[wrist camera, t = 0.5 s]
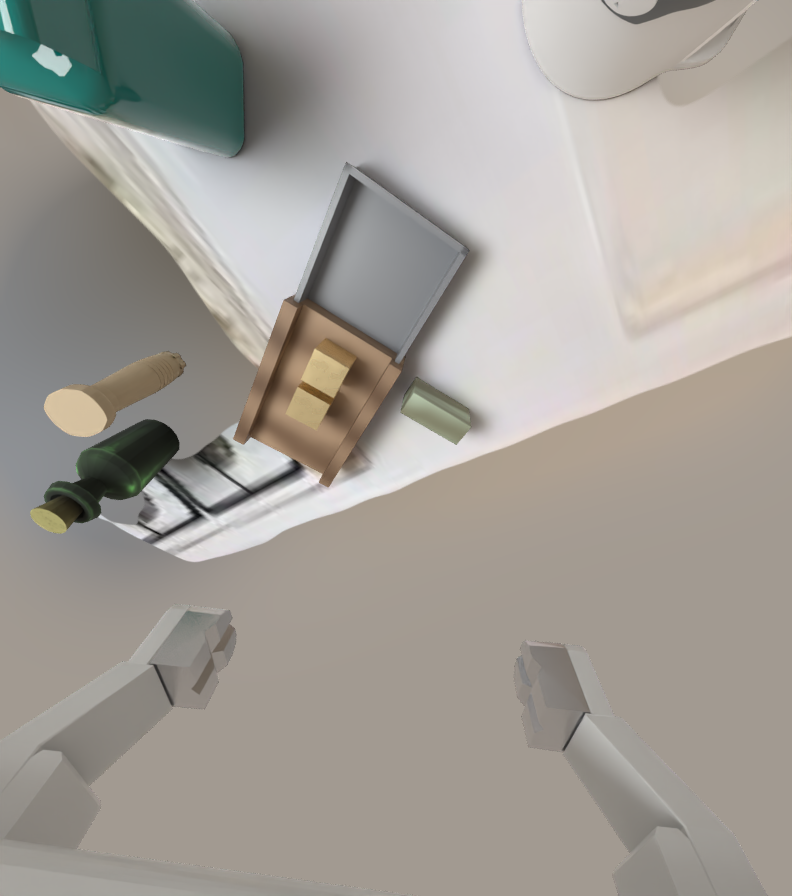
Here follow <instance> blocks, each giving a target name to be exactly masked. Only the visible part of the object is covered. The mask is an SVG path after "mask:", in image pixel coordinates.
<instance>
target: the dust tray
mask: <svg viewBox="0 0 792 896" xmlns="http://www.w3.org/2000/svg"><path fill="white" fill-rule="evenodd" d="M468 252H469V249H468V248H466V247H465V246H463V245H462V244H461V243H459V242H458V241H457V240H455V239H454V238H452V237H451V236H450V235H448V234H447V233H445V232H444V231H443V230H441V229H440V228H438V227H437V226H436V225H434V224H433V223H431V222H430V221H429V220H427V219H426V218H424V217H423V216H422V215H420V214H419V213H418V212H416V211H415V210H413V209H412V208H411V207H409V206H408V205H406V204H405V203H404V202H402V201H401V200H399V199H398V198H397V197H395V196H394V195H392V194H391V193H390V192H388V191H387V190H385V189H384V188H383V187H381V186H380V185H379V184H377V183H376V182H374V181H373V180H372V179H370V178H369V177H367V176H366V175H365V174H363V173H362V172H360V171H359V170H358V169H356V168H355V167H353V166H352V165H350V164H349V163H347V162H346V163H345V166H344V169H343V171H342V174H341V177H340V179H339V182H338V184H337V187H336V190H335V192H334V195H333V198H332V200H331V203H330V205H329V208H328V211H327V213H326V216H325V219H324V221H323V224H322V227H321V229H320V232H319V234H318V237H317V240H316V242H315V245H314V248H313V250H312V253H311V255H310V258H309V261H308V263H307V266H306V269H305V271H304V274H303V276H302V279H301V282H300V284H299V287H298V290H297V292H296V295H295V298H294V301H296V302H298V303H300V302H302V301H304V300H305V299H307V298H308V299H310V300H311V301H313V302H314V303H316V304H318V305H319V306H321V307H323V308H324V309H326V310H327V311H329V312H331V313H332V314H334V315H336V316H337V317H339V318H340V319H342V320H344V321H345V322H347V323H349V324H350V325H352V326H353V327H355V328H357V329H358V330H360V331H362V332H363V333H365V334H366V335H368V336H370V337H371V338H373V339H375V340H376V341H378V342H379V343H381V344H383V345H384V346H386V347H388V348H389V349H391V350H392V351H394V352H396V353H397V356H396V359H395V362H396V363H398V364H400V362H401V360H402V359H403V357H404V356H405V354H406V352H407V351H408V349H409V347H410V346H411V344H412V343H413V341H414V339H415V338H416V336H417V335H418V333H419V331H420V330H421V328H422V326H423V325H424V323H425V322H426V320H427V318H428V317H429V315H430V313H431V312H432V310H433V309H434V307H435V305H436V304H437V302H438V300H439V299H440V297H441V296H442V294H443V292H444V291H445V289H446V288H447V286H448V284H449V283H450V281H451V279H452V278H453V276H454V275H455V273H456V271H457V270H458V268H459V266H460V265H461V263H462V262H463V260H464V258H465V257H466V255H467V254H468Z"/></svg>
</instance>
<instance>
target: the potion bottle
mask: <svg viewBox="0 0 792 896" xmlns="http://www.w3.org/2000/svg"><path fill="white" fill-rule="evenodd" d="M178 450H179V440H178V438H177V435H176V434H175V433H174V431H173V430H172V429H171V428H170V427H168V426H167V425H166V424H164V423H162V422H159V421H156V420H148V419H147V420H143V421H141V422H139V423H137V424H135V425H133V426H131V427H129V428H127V429H125V430H123V431H121V432H119V433H117V434H116V435H114V436H112V437H110V438H108V439H106V440H104V441H102V442H100V443H98V444H96V445H94V446H92V447H90V448H88V449H86V450H84V451H83V452H82V453H81V455H80V457H79V458H78V460H77V463H76V470H77V473H78V475H79V476H80V478H81V480H80V481H77V482H74V483H70V482H63V481H57V482H55V483H52V484H51V486H50V487H49V489H48V490H47V491H46V493H45V495H44V498H45V502H46V503H45V504H43V505H41V506H39V507H37V508H34V509H32V510H31V512H30V514H31V518H32V519H33V520H34V521H35V522H36V523H37V524H38V525H39V526H41V527H42V528H44V529H46V530H48V531H50V532H53V533H64V532H66V530H67V529H68V528H69V527H70V525H71V524H72V523H73V522H77V523H84V522H88V521H90V520H92V519H94V518H97V517H98V516H99V515H100V514H101V506H100V505H99V501H100V500H101V499H102V497H103V496H104V497H107V498H110V499H116V500H123V499H127V498H131V497H134V496H137V495H138V494H139V493H140V492H141V491H142V490H143V488H144V487H145V486H146V485H147V484H148V483H149V482H150V481H151V480H152V479H153V478H154V477H155V476H156V474H157V473H158V472H159V471H160V470H161V469H162V468H163V467H164V466H165V465H166V464H167V463H168V461H169V460H170V459H171V458H172V457H173V456H174V455H175V454H176V453H177V451H178Z"/></svg>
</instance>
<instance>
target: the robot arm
mask: <svg viewBox="0 0 792 896" xmlns="http://www.w3.org/2000/svg"><path fill="white" fill-rule="evenodd" d="M757 1H758V0H522V13H523V22H524V27H525V32H526V36H527V40H528V43H529V47H530V49H531V52H532V54H533V57H534V59H535V61H536V63H537V64H538V66H539V68H540V69H541V71H542V72H543V74H544V75H545V76H546V77H547V78H548V80H549V81H550V82H551V83H552V84H553V85H555V86H556V87H557V88H559V89H560V90H562V91H563V92H565V93H567V94H569V95H572V96H574V97H578V98H582V99H590V100H598V99H607V98H612V97H616V96H619V95H622V94H625V93H627V92H629V91H632V90H633V89H635V88H637V87H639V86H641V85H643V84H644V83H646V82H648V81H649V80H651V79H653V78H654V77H656V76H658V75H660V74H662V73H664V72H667V71H671V70H682V69H690V68H695V67H698V66H701V65H703V64H705V63H707V62H709V61H710V60H711V59H712V58H714V57H715V56H716V55H717V54H719V53H720V52H721V50H722V49H723V48H724V47H725V45H726V44H727V42H728V41H729V39H730V38H731V36H732V34H733V32H734V31H735V29H736V27H737V26H738V24H739V23H740V21H741V19H742V17H743V16H744V14H745V13H746V11H747V9H748V8H750V7H751V6H752V5H753V4H754V3H756V2H757ZM231 620H232V615H231V612H230V610H222V609H214V608H205V607H196V606H190V605H189V606H188V605H179V604H175V605H173V606H172V607H171V608H169V609H168V610H167V612H166V613H165V614H164V615H163V617H162V618H161V619H160V621H159V622H158V624H157V625H156V626H155V627H154V628H153V630H152V631H151V632H150V634H149V635H148V636H147V637H146V639H145V640H144V641H143V643H142V644H141V645H140V647H139V648H138V649H137V650H136V652H135V653H134V654H133V656H132V657H131V658H130V660H129V661H128V662H123V661H122V662H121V663H119V664H118V665H116V666H114V667H113V668H111V669H110V670H109V671H107V672H105V673H104V674H102V675H101V676H99V677H97V678H96V679H94V680H93V681H92V682H90V683H88V684H87V685H85V686H84V687H82V688H80V689H79V690H77V691H76V692H74V693H73V694H71V695H70V696H68V697H67V698H65V699H64V700H62V701H60V702H59V703H57V704H56V705H54V706H53V707H51V708H50V709H48V710H47V711H45V712H43V713H42V714H40V715H39V716H37V717H36V718H34V719H33V720H31V721H30V722H28V723H26V724H25V725H23V726H22V727H20V728H19V729H17V730H16V731H14V732H13V733H11V734H9V735H8V736H7V737H5V738H3V739H2V740H0V896H416V895H408V894H401V893H394V892H387V891H379V890H372V889H365V888H358V887H350V886H343V885H336V884H328V883H321V882H313V881H307V880H299V879H292V878H284V877H277V876H270V875H263V874H256V873H248V872H241V871H234V870H227V869H219V868H212V867H205V866H197V865H190V864H182V863H176V862H168V861H161V860H154V859H146V858H139V857H131V856H124V855H117V854H110V853H102V852H96V851H88V850H81V849H77V847H78V846H79V844H80V843H81V841H82V839H83V837H84V836H85V834H86V832H87V831H88V829H89V827H90V826H91V824H92V822H93V821H94V819H95V817H96V815H97V814H98V812H99V811H100V809H101V802H100V799H99V798H98V797H97V795H96V794H95V793H94V792H93V791H92V789H91V788H90V787H89V786H90V785H91V784H92V783H93V782H94V781H95V780H96V779H97V778H98V777H100V776H101V775H102V774H103V773H104V772H105V771H106V770H107V769H108V768H109V767H111V765H113V764H114V763H115V762H116V761H117V760H118V759H119V758H120V757H121V756H122V755H123V754H125V753H126V752H127V751H128V750H129V749H130V748H131V747H132V746H133V745H134V744H135V743H136V742H138V741H139V740H140V739H141V738H142V737H143V736H144V735H145V734H146V733H147V732H148V731H149V730H150V729H152V728H153V726H155V725H156V724H157V723H158V722H159V721H160V720H161V719H162V718H163V717H165V716H166V715H167V714H168V713H169V712H170V711H171V710H172V709H173V708H172V707H182V708H194V709H205V708H206V706H207V704H208V702H209V700H210V698H211V696H212V694H213V692H214V690H215V688H216V687H217V684H218V683H219V681H218V672H219V671H220V670H222V669H223V668H224V667H226V666H227V665H228V662H229V661H230V659H231V657H232V654H233V651H234V648H235V644H236V631H235V628H234V627H232V626H231V625H230V622H231ZM520 650H521V654H522V655H521V656H520V657H518V658H517V659H516V662H515V666H514V682H515V689H516V693H517V697H518V699H519V700H520V701H521V703H522V704H523V705H524V706H525V709H524V711H523V714H522V716H521V717H522V721H523V726H524V730H525V735H526V739H527V744H528V747H530V748H537V749H544V750H550V751H557V752H564V753H563V755H564V757H565V759H566V760H567V761H568V763H569V764H570V766H571V767H572V769H573V770H574V772H575V773H576V775H577V776H578V778H579V779H580V781H581V782H582V783H583V785H584V786H585V788H586V789H587V791H588V792H589V794H590V795H591V797H592V798H593V800H594V801H595V803H596V804H597V806H598V807H599V809H600V810H601V812H602V813H603V815H604V816H605V817H606V819H607V820H608V822H609V823H610V825H611V826H612V828H613V829H614V831H615V832H616V834H617V835H618V837H619V838H620V840H621V841H622V842H623V844H624V845H625V847H626V848H627V850H628V851H629V853H630V854H629V855H628V856H627V857H626V858H625V859H624V860H623V861H622V862H621V863H620V864H619V865H618V866H617V867H616V868H615V870H614V873H613V875H612V876H613V879H614V883H615V886H616V889H617V893H618V896H768V895H767V894H766V892H765V890H764V888H763V886H762V885H761V883H760V881H759V879H758V877H757V875H756V873H755V872H754V870H753V868H752V866H751V864H750V863H749V861H748V859H747V857H746V855H745V853H744V852H743V850H742V848H741V846H740V844H739V843H738V841H737V839H736V837H735V835H734V834H733V833H732V832H731V831H730V829H728V827H727V826H726V825H725V824H724V823H723V822H722V821H721V820H720V819H719V818H718V817H717V816H716V815H715V814H714V813H713V812H712V811H711V810H710V809H709V808H708V807H707V806H706V805H705V804H704V803H703V802H702V801H701V799H700V798H699V797H698V796H697V795H696V794H695V793H694V792H693V791H692V790H691V789H690V788H689V787H688V786H687V785H686V784H685V783H684V782H683V781H682V780H681V779H680V778H679V777H678V776H677V775H676V774H675V773H674V772H673V771H672V769H671V768H670V767H669V766H668V765H667V764H666V763H665V762H664V761H663V760H662V759H661V758H660V757H659V756H658V755H657V754H656V753H655V752H654V751H653V750H652V749H651V748H650V747H649V746H648V745H647V744H646V743H645V742H644V740H643V739H642V738H641V737H639V735H638V734H637V733H636V732H635V731H634V730H633V729H632V728H631V727H630V726H629V725H628V724H627V723H626V722H625V721H624V720H623V719H622V718H621V717H616V716H614V713H613V711H612V709H611V706H610V704H609V702H608V700H607V697H606V695H605V693H604V691H603V688H602V686H601V683H600V681H599V679H598V677H597V674H596V672H595V670H594V667H593V665H592V663H591V660H590V658H589V656H588V654H587V651H586V650H585V649H584V648H583V647H582V646H578V645H566V644H561V643H551V642H539V641H527V640H525V641H523V642H522V645H521V647H520Z"/></svg>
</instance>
